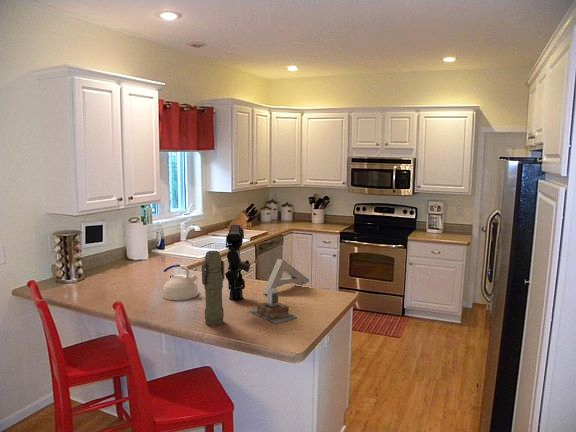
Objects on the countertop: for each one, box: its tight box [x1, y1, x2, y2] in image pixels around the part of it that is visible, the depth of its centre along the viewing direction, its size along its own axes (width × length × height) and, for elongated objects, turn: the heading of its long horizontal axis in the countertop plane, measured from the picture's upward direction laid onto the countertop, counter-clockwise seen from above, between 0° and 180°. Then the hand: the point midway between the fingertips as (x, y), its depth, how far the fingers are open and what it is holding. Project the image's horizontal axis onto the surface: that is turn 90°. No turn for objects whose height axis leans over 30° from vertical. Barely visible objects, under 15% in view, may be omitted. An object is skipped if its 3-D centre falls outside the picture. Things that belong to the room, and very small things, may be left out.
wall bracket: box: [262, 258, 310, 295], centre depth 273 cm, size 22×4×30 cm
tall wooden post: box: [266, 288, 279, 309], centre depth 227 cm, size 4×4×12 cm
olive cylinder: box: [201, 250, 226, 327], centre depth 216 cm, size 9×12×35 cm
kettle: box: [162, 263, 199, 301], centre depth 260 cm, size 20×21×18 cm
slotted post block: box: [249, 301, 298, 325], centre depth 228 cm, size 22×13×5 cm, turn 40°
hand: (234, 286), depth 236 cm, fingers open, 9 cm apart
